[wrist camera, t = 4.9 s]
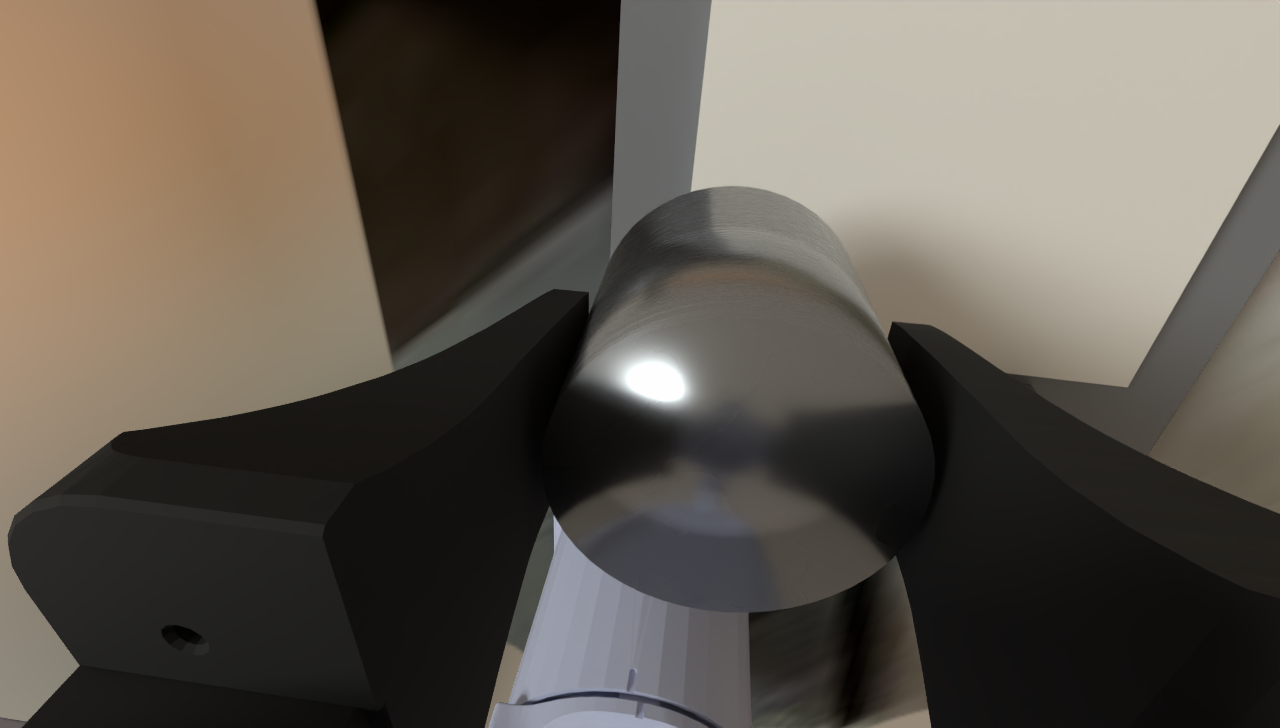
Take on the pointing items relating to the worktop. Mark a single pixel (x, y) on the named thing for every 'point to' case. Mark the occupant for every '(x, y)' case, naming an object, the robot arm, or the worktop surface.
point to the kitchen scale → (990, 167)
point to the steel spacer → (736, 413)
